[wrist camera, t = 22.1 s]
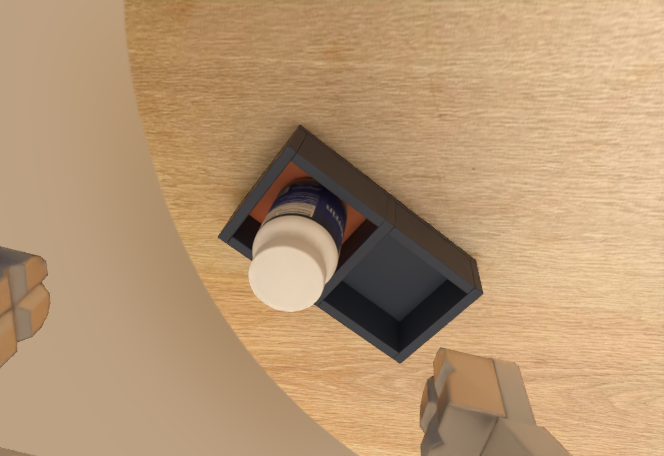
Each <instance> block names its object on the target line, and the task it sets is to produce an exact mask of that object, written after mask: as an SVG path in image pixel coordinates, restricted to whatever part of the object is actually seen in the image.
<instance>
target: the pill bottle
mask: <svg viewBox="0 0 664 456" xmlns="http://www.w3.org/2000/svg"><path fill="white" fill-rule="evenodd" d="M346 223H347V208H346V204H345V202H344V201H343V200H341V199H340V198H339V197H338V196H336V195H335V194H334V193H332V192H331V191H330V190H328V189H327V188H326V187H324V186H323V185H322V184H320V183H319V182H318V181H316V180H315V179H309V178H307V179H300V180H296V181H293V182H291V183H290V184H288V185H286V186H285V187H284V188H283V189H282V190H281V191H280V193H279V194H278V195H277V197H276V199H275V201H274V202H273V204H272V206H271V208H270V210H269V212H268V214H267V216H266V218H265V219H264V221H263V223H262V225H261V227H260V229H259V231H258V233H257V234H256V237H255V239H254V243H253V249H252V254H253V260H252V262H251V264H250V267H249V273H248V278H249V283H250V286H251V288H252V290H253V292H254V293H255V295H256V296H257V297H258V298H259V299H260V300H261V301H262V302H263V303H264V304H266V305H268V306H270V307H272V308H274V309H277V310H280V311H287V312H294V311H300V310H303V309H306V308H308V307H310V306H311V305H313V304H314V303H315V302H316V301H317V300H318V299H319V297H320V296H321V294H322V291H323V289H324V285H325V284H326V283H327V282H328V281H329V280H330V279H331V277H332V276H333V274H334V272H335V270H336V267H337V264H338V259H339V255H340V250H341V246H342V241H343V237H344V232H345V228H346Z"/></svg>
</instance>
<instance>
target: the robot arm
mask: <svg viewBox="0 0 664 456" xmlns="http://www.w3.org/2000/svg"><path fill="white" fill-rule="evenodd" d="M47 276H48V271H47V264H46V261H45V260H44V259H43V258H42V257H41V256H37V255H33V254H29V253H25V252H21V251H17V250H13V249H9V248H5V247H1V246H0V368H1V367H2V366H3V365H4V364H5V363H6V362H7V361H8V360H9V359H10V358H11V357H12V356H13V355H14V354H15V353H16V352H17V342H20V341H23V340H25V339H28V338H30V337H33V335H35V333H36V332H37V331H38V330H39V329H40V328H41V327H42V325H43V323H44V321H45V320H46V317H47V316H48V313H49V307H50V294H49V292H48V290H47V289H46V288H45V286H44V285H43V284H42V281H43V280H44V279H45V278H46V277H47ZM433 368H434V376H432V377H431V378H429V379H427V382H426V385H425V388H424V391H423V395H422V400H421V405H420V428H421V429H422V430H423V432H424V433H425V435H424V437H423V440H422V443H421V456H572V455H571V454H570V453H569V452H568V451H567V450H566V449H565V448H564V447H563V446H562V445H561V444H560V443H559V442H558V441H557V440H556V439H555V438H554V437H553V436H552V435H551V434H550V433H549V432H548V431H547V430H546V429H545V428H544V427H540V426H537V425H536V421H535V418H534V415H533V412H532V408H531V405H530V402H529V399H528V395H527V392H526V389H525V385H524V382H523V379H522V376H521V372H520V369H519V366H518V365H517V364H516V363H514V362H509V361H504V360H499V359H494V358H485V357H481V356H476V355H472V354H467V353H463V352H458V351H454V350H449V349H445V348H440V349H439V350H438V352H437V354H436V357H435V359H434V362H433ZM0 456H35V455H30V454H26V453H21V452H17V451H14V450H9V449H5V448H1V447H0Z"/></svg>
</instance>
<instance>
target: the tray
mask: <svg viewBox="0 0 664 456" xmlns="http://www.w3.org/2000/svg"><path fill="white" fill-rule="evenodd" d="M307 178H309V179H315V180H316V181H318V182H319V183H320V184H322V185H323V186H324V187H326V188H327V189H328V190H330V191H331V192H332V193H334V194H335V195H336V196H338V197H339V198H340V199H341V200H343V201H344V202H345V204H346V208H347V223H346V228H345V232H344V237H343V241H342V246H341V250H340V255H339V259H338V264H337V267H336V270H335V272H334V274H333V276H332V277H331V279H330V280H329V281H328V282H327V283H326V284H325V285H324V289H323V291H322V294H321V296H320V297H319V299H318V300H317V301H316V302H315V303H314V305H316V306H317V307H319V308H320V309H322V310H323V311H325V312H326V313H327V314H329V315H330V316H332V317H333V318H335V319H336V320H338V321H339V322H340V323H342V324H343V325H345V326H346V327H348V328H349V329H351V330H352V331H353V332H355V333H356V334H358V335H359V336H361V337H362V338H364V339H365V340H366V341H368V342H369V343H371V344H372V345H374V346H375V347H377V348H378V349H379V350H381V351H382V352H384V353H385V354H387V355H388V356H390V357H391V358H393V359H394V360H395V361H397V362H398V363H402V362H403V361H404V360H405V359H406V358H408V357H409V356H410V355H411V354H412V353H414V352H415V351H416V350H417V349H418V348H420V347H421V346H422V345H423V344H424V343H425V342H427V341H428V340H429V339H430V338H431V337H433V336H434V335H435V334H436V333H437V332H439V331H440V330H441V329H442V328H443V327H444V326H446V325H447V324H448V323H449V322H450V321H452V320H453V319H454V318H455V317H456V316H458V315H459V314H460V313H461V312H462V311H463V310H465V309H466V308H467V307H468V306H469V305H471V304H472V303H473V302H474V301H475V300H477V299H478V298H479V297H480V296H481V295H482V294H483V290H482V286H481V281H480V277H479V272H478V268H477V263H476V260H475V259H473V258H472V257H471V256H469V255H468V254H467V253H465V252H464V251H463V250H462V249H460V248H459V247H458V246H456V245H455V244H454V243H453V242H451V241H450V240H449V239H447V238H446V237H445V236H443V235H442V234H441V233H440V232H438V231H437V230H436V229H434V228H433V227H432V226H430V225H429V224H428V223H427V222H425V221H424V220H423V219H421V218H420V217H419V216H418V215H416V214H415V213H414V212H412V211H411V210H410V209H408V208H407V207H406V206H405V205H403V204H402V203H401V202H399V201H398V200H397V199H395V198H394V197H393V196H392V195H390V194H389V193H388V192H386V191H385V190H384V189H383V188H381V187H380V186H379V185H377V184H376V183H375V182H373V181H372V180H371V179H370V178H368V177H367V176H366V175H364V174H363V173H362V172H360V171H359V170H358V169H357V168H355V167H354V166H353V165H351V164H350V163H349V162H348V161H346V160H345V159H344V158H342V157H341V156H340V155H338V154H337V153H336V152H335V151H333V150H332V149H331V148H329V147H328V146H327V145H325V144H324V143H323V142H322V141H320V140H319V139H318V138H316V137H315V136H314V135H313V134H311V133H310V132H309V131H307V130H306V129H305V128H303V127H302V126H301V125H300V126H299V127H298V128H297V129H296V131H295V132H294V133H293V135H292V136H291V137H290V139H289V140H288V141H287V143H286V144H285V145H284V147H283V148H282V149H281V151H280V152H279V153H278V155H277V156H276V157H275V159H274V160H273V161H272V163H271V164H270V165H269V167H268V168H267V169H266V171H265V172H264V173H263V175H262V176H261V177H260V178H259V180H258V181H257V182H256V184H255V185H254V186H253V188H252V189H251V190H250V192H249V193H248V194H247V196H246V197H245V198H244V200H243V201H242V202H241V204H240V205H239V206H238V208H237V209H236V210H235V212H234V213H233V215H232V216H231V218H230V219H229V221H228V222H227V224H226V225H225V227H224V228H223V230H222V231H221V233H220V234H219V236H218V238H219V239H221V240H222V241H224V242H225V243H227V244H228V245H230V246H231V247H232V248H234V249H235V250H237V251H238V252H240V253H241V254H243V255H244V256H245V257H247V258H248V259H250V260H251V261H252V260H253V254H252V249H253V243H254V239H255V237H256V234H257V233H258V231H259V229H260V227H261V225H262V223H263V221H264V219H265V218H266V216H267V214H268V212H269V210H270V208H271V206H272V204H273V202H274V201H275V199H276V197H277V195H278V194H279V193H280V191H281V190H282V189H283V188H284V187H285V186H286V185H288V184H290V183H291V182H293V181H296V180H300V179H307Z"/></svg>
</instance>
